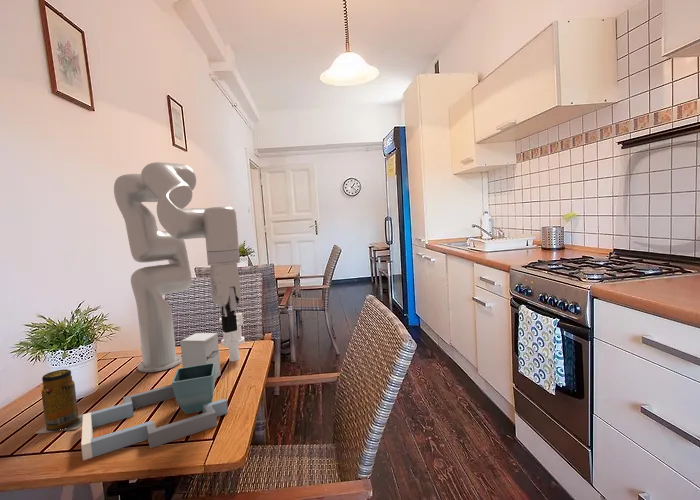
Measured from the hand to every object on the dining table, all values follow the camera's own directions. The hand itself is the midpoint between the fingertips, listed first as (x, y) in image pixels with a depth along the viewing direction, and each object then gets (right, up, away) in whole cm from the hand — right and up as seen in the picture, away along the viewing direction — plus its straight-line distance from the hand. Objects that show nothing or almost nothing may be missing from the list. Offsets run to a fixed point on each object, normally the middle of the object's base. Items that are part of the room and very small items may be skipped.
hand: (230, 330), depth 95 cm
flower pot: (-7, -18, -4) cm, 19 cm away
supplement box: (-12, -17, +13) cm, 24 cm away
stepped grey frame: (-14, -19, -9) cm, 25 cm away
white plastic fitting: (-7, -15, +28) cm, 33 cm away
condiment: (-35, -20, -8) cm, 41 cm away
